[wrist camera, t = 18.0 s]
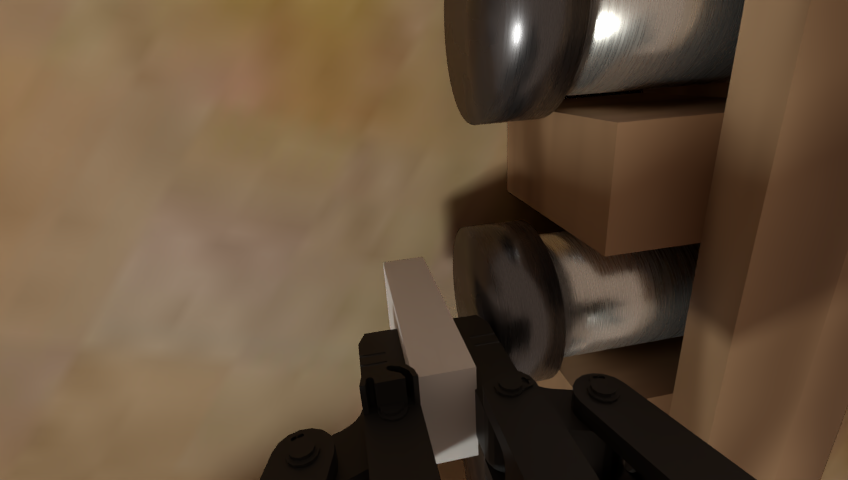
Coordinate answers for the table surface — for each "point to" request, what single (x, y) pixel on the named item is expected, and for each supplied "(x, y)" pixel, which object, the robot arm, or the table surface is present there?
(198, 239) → the table surface
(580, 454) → the robot arm
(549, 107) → the knob
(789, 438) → the wooden rack
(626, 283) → the knob
